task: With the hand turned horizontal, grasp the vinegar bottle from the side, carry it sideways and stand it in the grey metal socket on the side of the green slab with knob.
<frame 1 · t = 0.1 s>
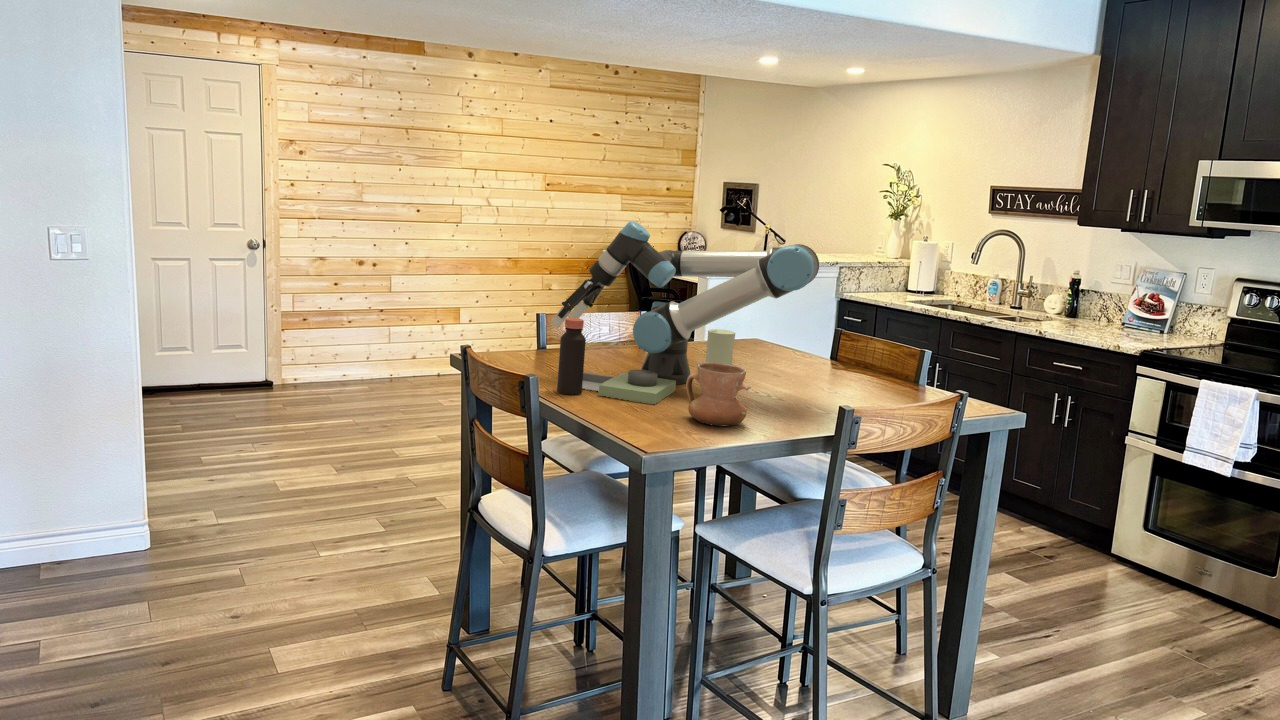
hand: (563, 322, 271), 15 cm above the table, tool tilted 35°, fingers open, 13 cm apart
ceramic jug: (714, 422, 232), on the table
green slab with knob: (589, 386, 259), on the table
can: (718, 366, 307), on the table
vinegar: (569, 393, 250), on the table
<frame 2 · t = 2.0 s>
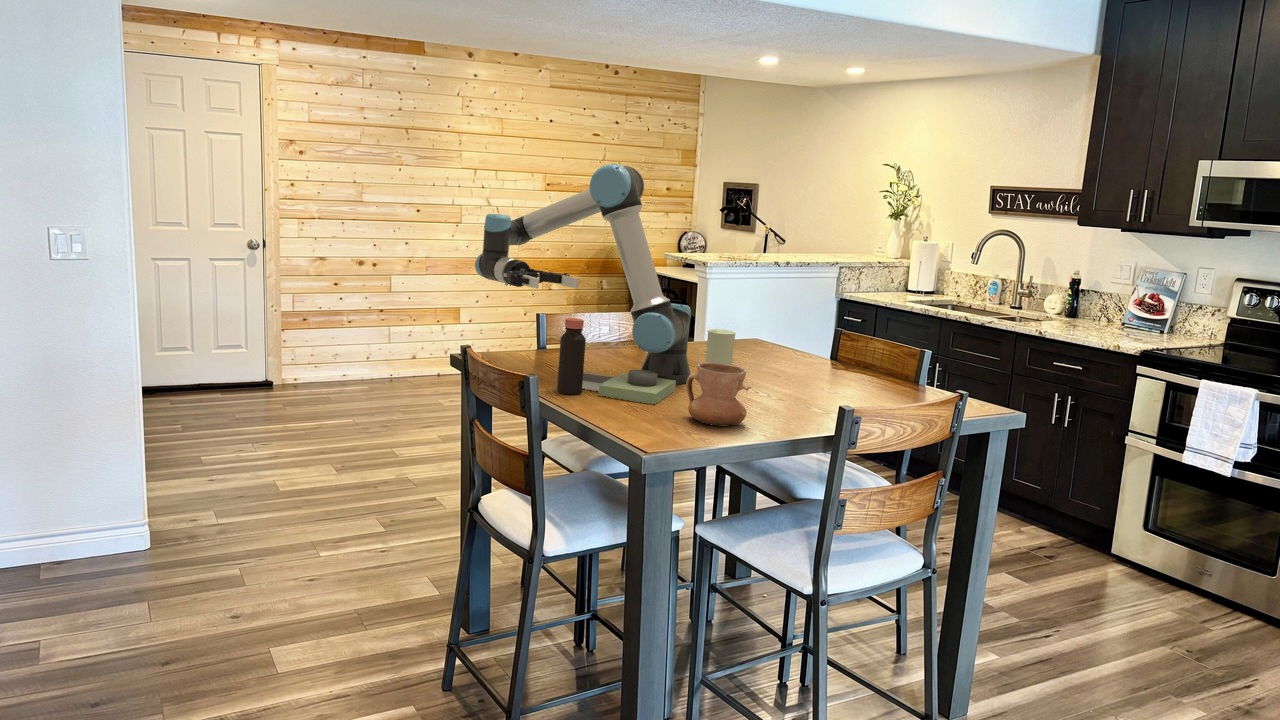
hand: (557, 283, 252), 28 cm above the table, tool horizontal, fingers open, 13 cm apart
nothing on the table moved.
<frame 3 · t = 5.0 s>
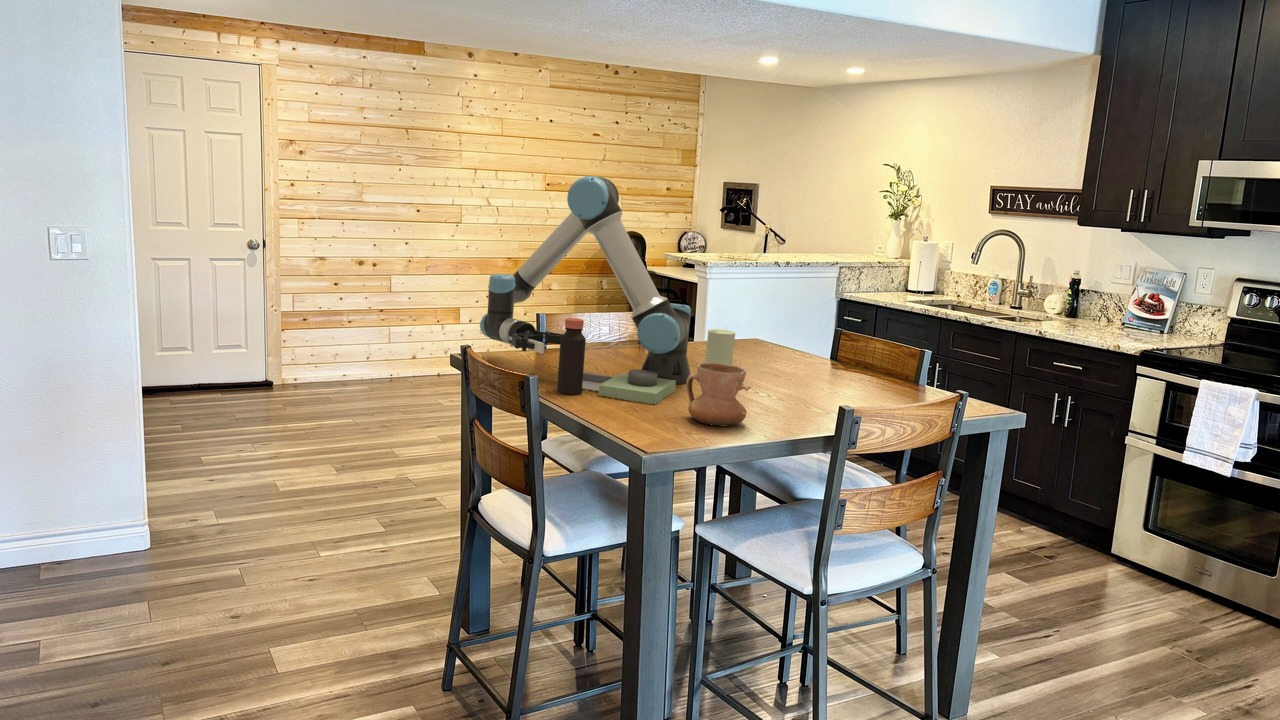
hand: (563, 347, 250), 12 cm above the table, tool horizontal, fingers open, 13 cm apart
nothing on the table moved.
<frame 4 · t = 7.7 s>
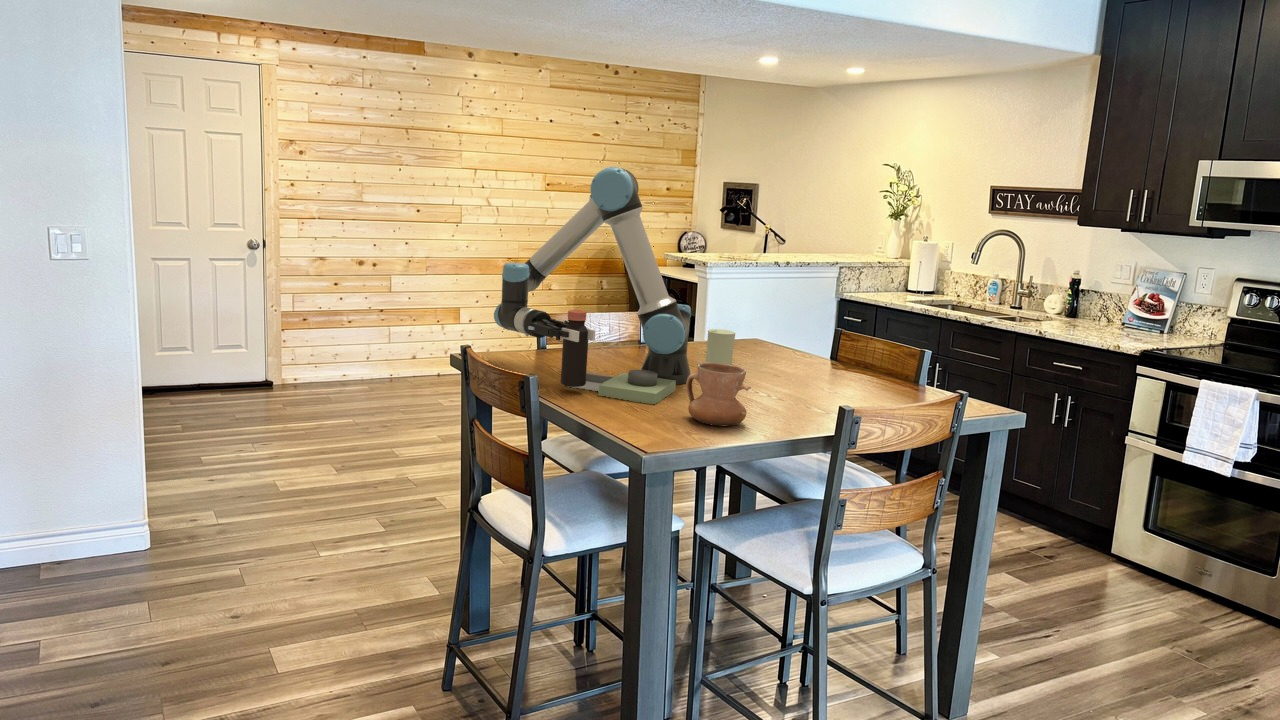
hand: (585, 336, 244), 16 cm above the table, tool horizontal
vinegar: (573, 385, 251), point 2 cm above the table, touching gripper
everything else where it was.
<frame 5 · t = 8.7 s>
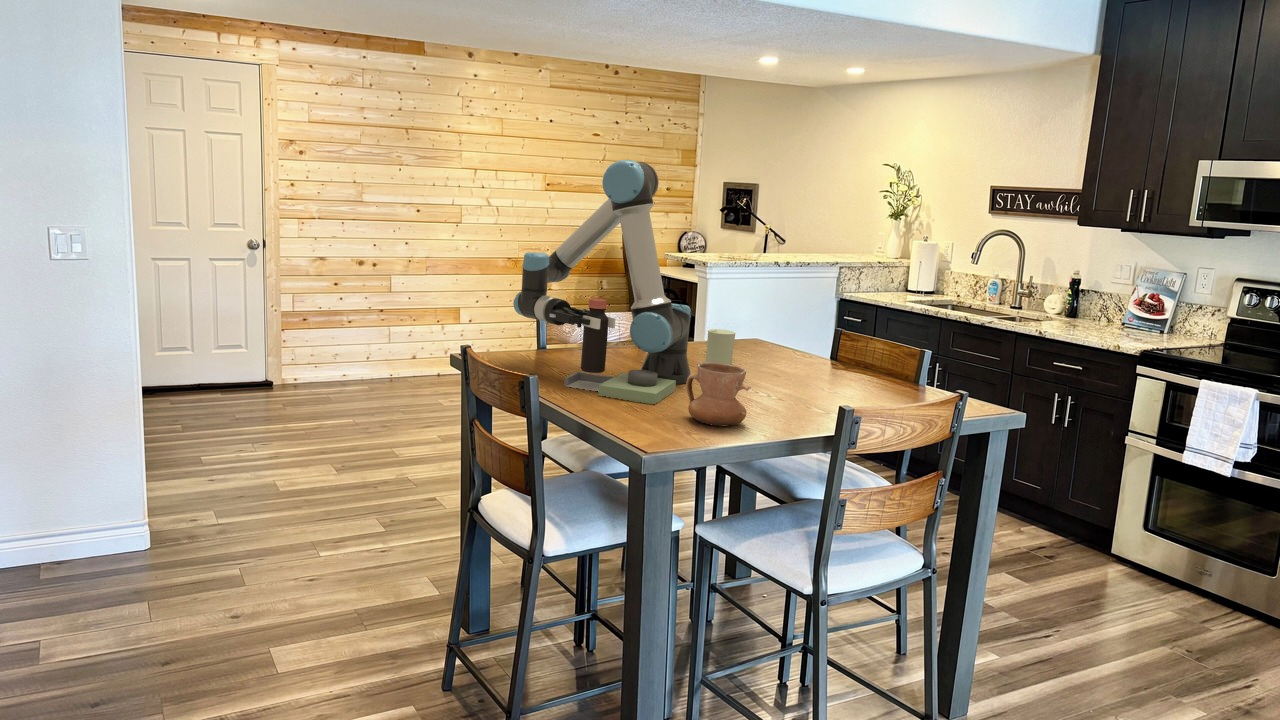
hand: (606, 323, 251), 19 cm above the table, tool horizontal
vinegar: (592, 371, 258), point 5 cm above the table, touching gripper
everything else where it was.
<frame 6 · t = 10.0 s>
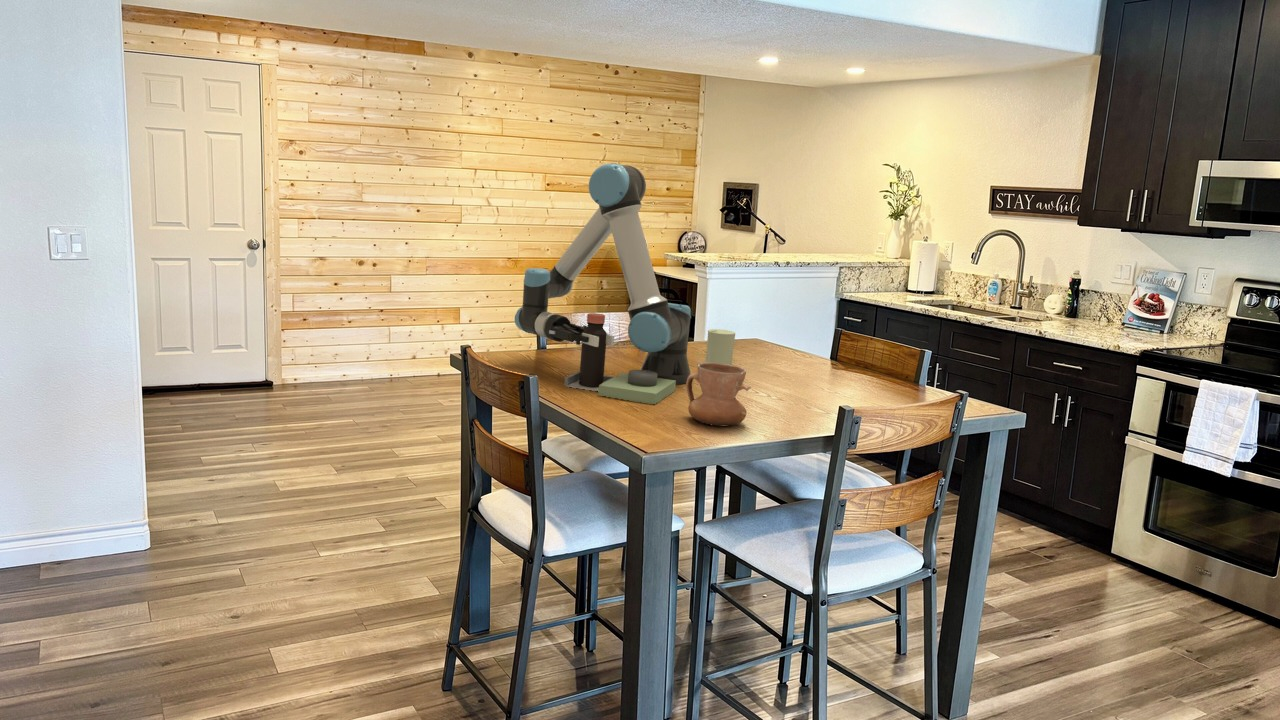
hand: (605, 341, 253), 14 cm above the table, tool horizontal, fingers closed on vinegar, 5 cm apart
vinegar: (590, 385, 260), resting on green slab with knob, touching gripper
everything else where it was.
when the fingers open (14 cm above the table, at t = 10.3 s): vinegar stays where it is, resting on green slab with knob.
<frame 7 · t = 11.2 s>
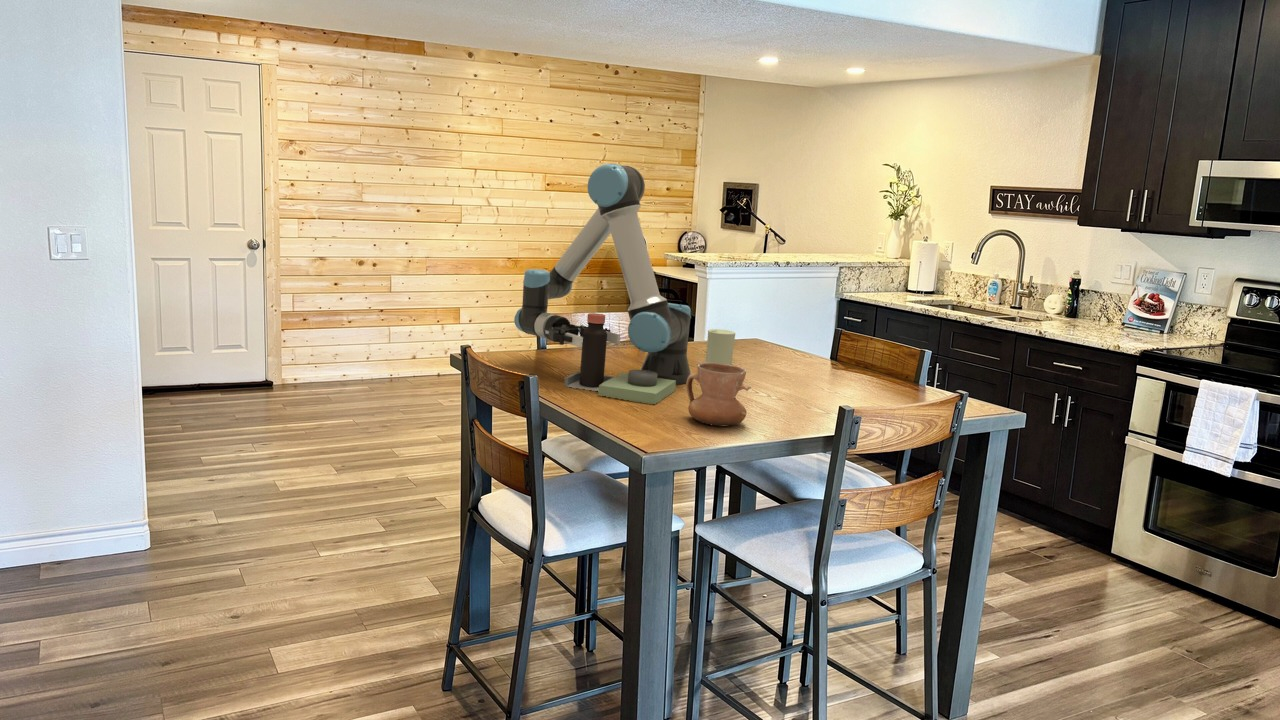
hand: (600, 340, 254), 14 cm above the table, tool horizontal, fingers open, 13 cm apart
vinegar: (591, 385, 260), resting on green slab with knob
everything else where it was.
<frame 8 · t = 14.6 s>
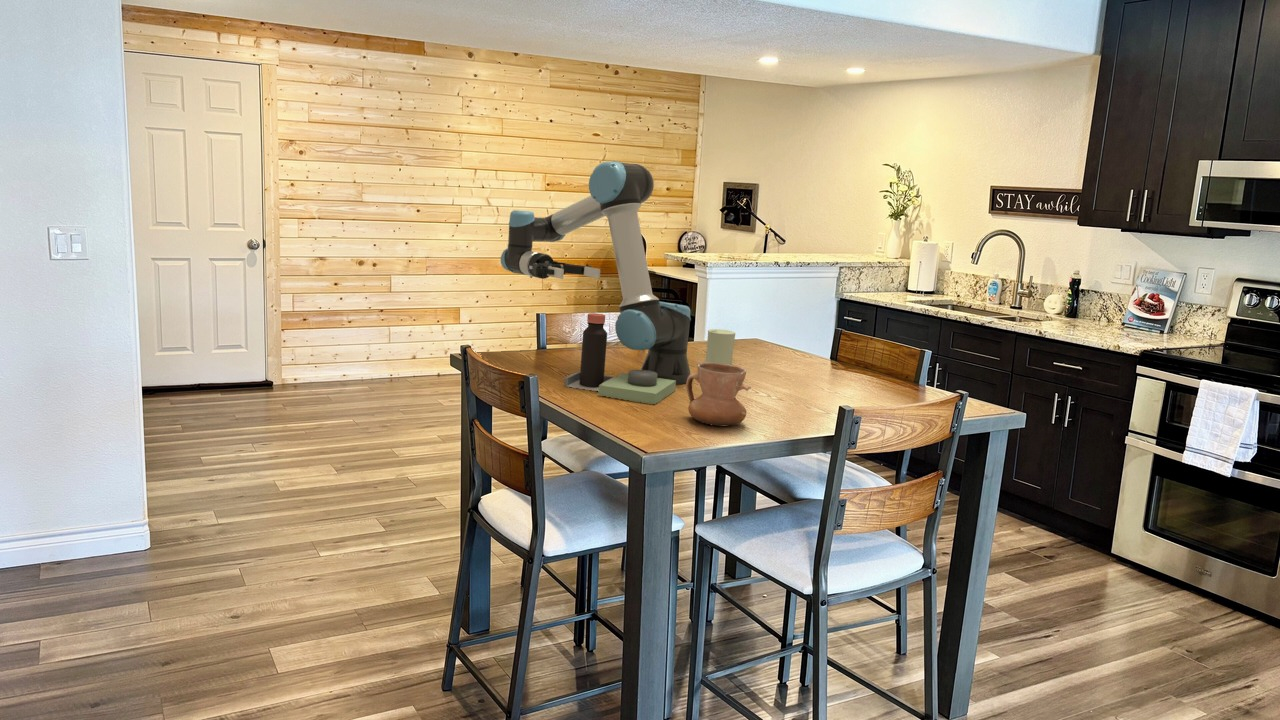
hand: (581, 273, 267), 30 cm above the table, tool horizontal, fingers open, 13 cm apart
nothing on the table moved.
at the end: vinegar 0.9 cm from the green slab with knob (horizontally); vinegar tilted 0°; the gripper is holding nothing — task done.
